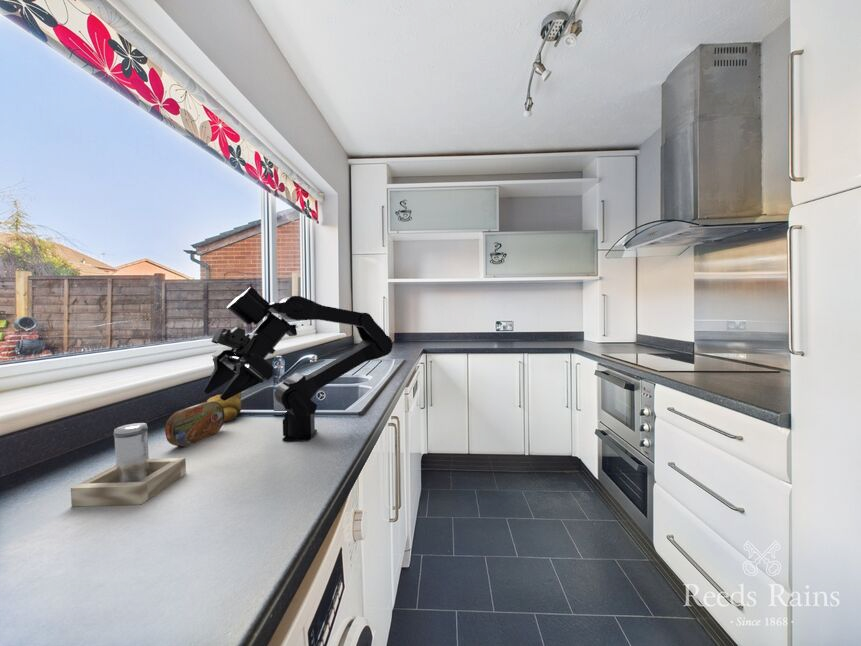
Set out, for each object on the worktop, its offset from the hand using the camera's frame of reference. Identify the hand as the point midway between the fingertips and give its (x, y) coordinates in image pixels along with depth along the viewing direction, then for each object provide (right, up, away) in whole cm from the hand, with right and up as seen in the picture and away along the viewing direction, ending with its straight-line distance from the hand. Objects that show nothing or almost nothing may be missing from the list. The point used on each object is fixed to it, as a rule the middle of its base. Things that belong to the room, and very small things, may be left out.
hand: (213, 396), depth 74 cm
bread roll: (-16, -13, +31) cm, 37 cm away
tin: (-12, -14, +13) cm, 23 cm away
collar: (-8, -14, -10) cm, 19 cm away
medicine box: (+1, -12, +36) cm, 38 cm away
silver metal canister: (-8, -14, -10) cm, 19 cm away
